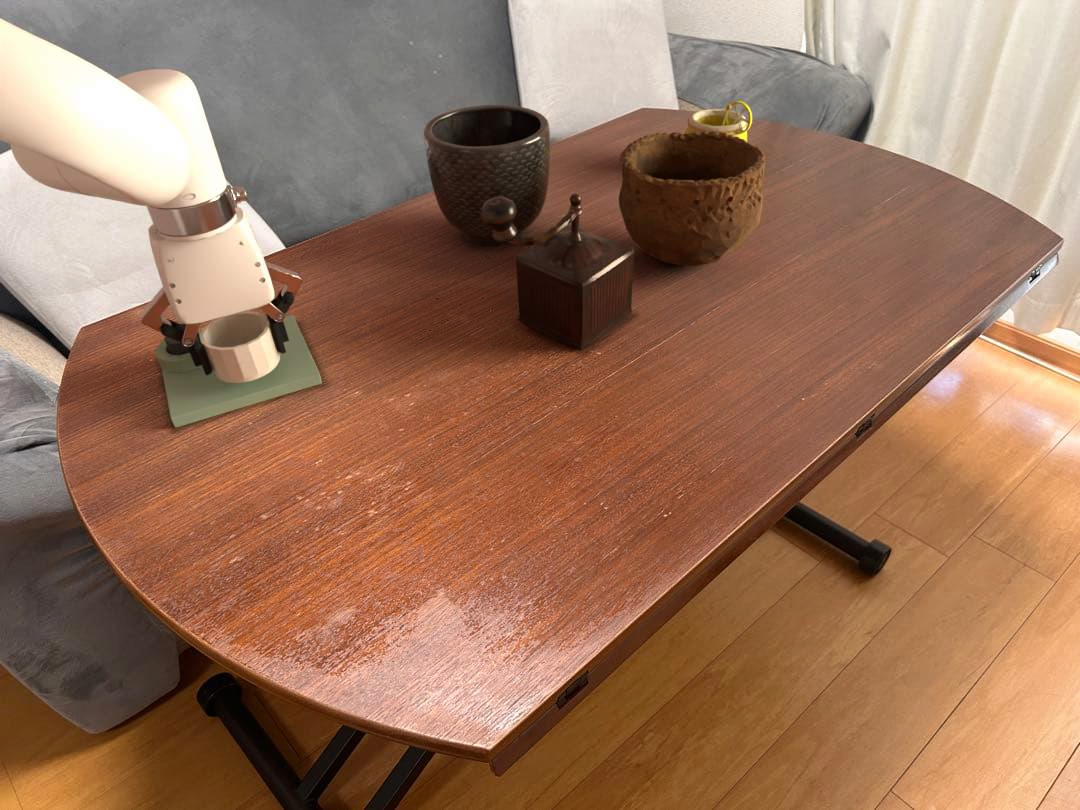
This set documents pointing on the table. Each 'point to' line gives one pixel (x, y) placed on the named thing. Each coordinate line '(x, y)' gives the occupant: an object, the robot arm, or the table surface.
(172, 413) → the scale
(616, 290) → the pepper mill
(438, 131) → the planter
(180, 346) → the tare button
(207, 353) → the white bowl
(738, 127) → the mug
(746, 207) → the bowl
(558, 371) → the table surface
